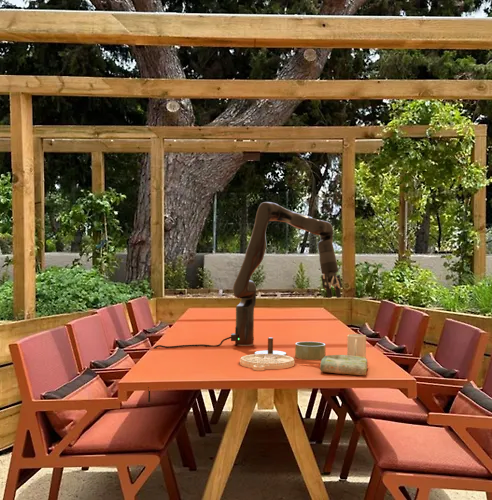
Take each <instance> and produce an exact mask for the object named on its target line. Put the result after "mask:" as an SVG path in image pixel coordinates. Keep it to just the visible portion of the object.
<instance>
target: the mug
mask: <svg viewBox="0 0 492 500" xmlns="http://www.w3.org/2000/svg"><path fill="white" fill-rule="evenodd" d="M346 337H347V339H346V340H347V341H346V355H349V356H361V357H365V358H366V359H367V335H366V334H361V333H350V334H347V336H346Z"/></svg>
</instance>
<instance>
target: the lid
mask: <svg viewBox="0 0 492 500" xmlns="http://www.w3.org/2000/svg"><path fill="white" fill-rule="evenodd" d="M253 354H278V355H285V356H287V352H286V351H282V350H274V337H267V350H266V349H265V350H257V351H255V352H254V353H253Z"/></svg>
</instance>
